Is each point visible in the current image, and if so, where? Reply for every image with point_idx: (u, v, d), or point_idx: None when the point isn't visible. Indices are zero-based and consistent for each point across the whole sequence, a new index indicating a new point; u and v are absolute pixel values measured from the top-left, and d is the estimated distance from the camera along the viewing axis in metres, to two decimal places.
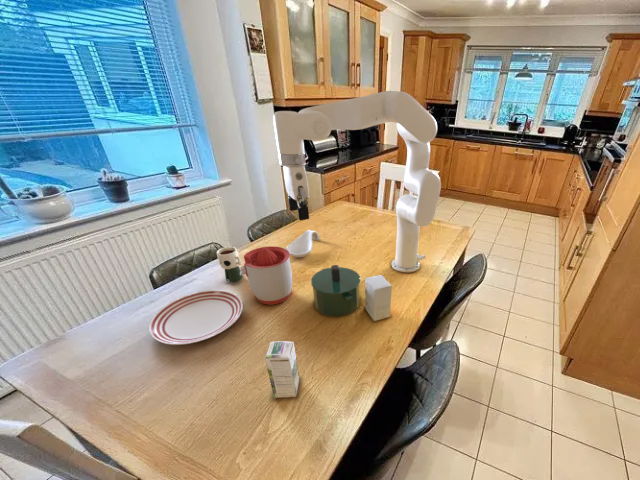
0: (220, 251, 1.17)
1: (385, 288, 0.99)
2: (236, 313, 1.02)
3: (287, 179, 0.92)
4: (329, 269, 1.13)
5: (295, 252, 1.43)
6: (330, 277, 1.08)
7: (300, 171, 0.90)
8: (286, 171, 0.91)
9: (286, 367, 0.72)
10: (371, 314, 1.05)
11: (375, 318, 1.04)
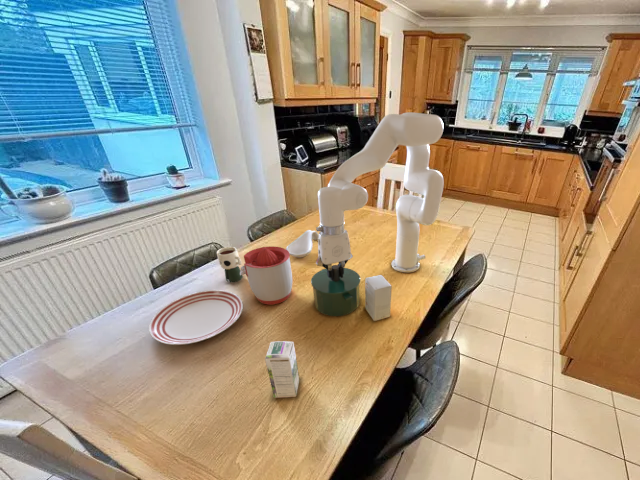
0: (220, 251, 1.17)
1: (385, 288, 0.99)
2: (236, 313, 1.02)
3: None
4: None
5: (295, 252, 1.43)
6: None
7: (320, 239, 0.96)
8: None
9: (286, 367, 0.72)
10: (371, 314, 1.05)
11: (375, 318, 1.04)
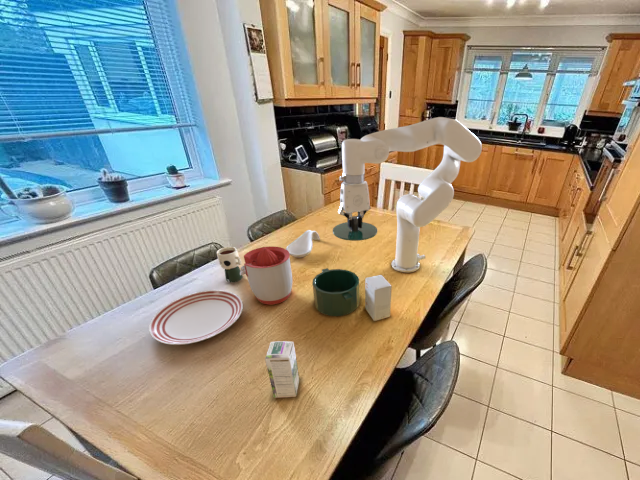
0: (220, 251, 1.17)
1: (385, 288, 0.99)
2: (236, 313, 1.02)
3: None
4: None
5: (295, 252, 1.43)
6: (349, 228, 1.18)
7: (343, 188, 1.06)
8: None
9: (286, 367, 0.72)
10: (371, 314, 1.05)
11: (375, 318, 1.04)
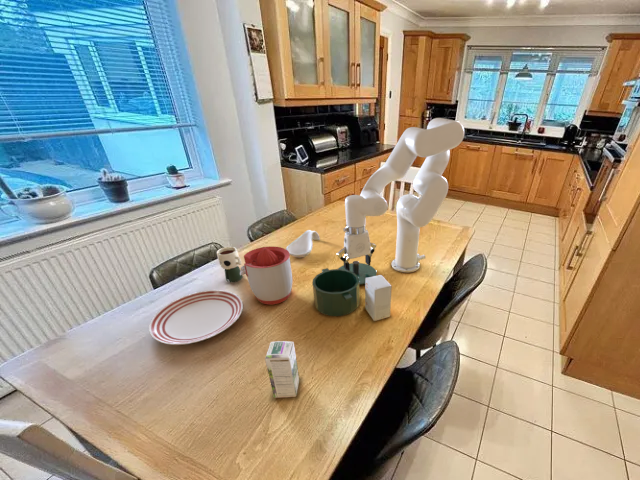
0: (220, 251, 1.17)
1: (385, 288, 0.99)
2: (236, 313, 1.02)
3: None
4: (349, 264, 1.34)
5: (295, 252, 1.43)
6: (351, 271, 1.30)
7: (346, 238, 1.17)
8: None
9: (286, 367, 0.72)
10: (371, 314, 1.05)
11: (375, 318, 1.04)
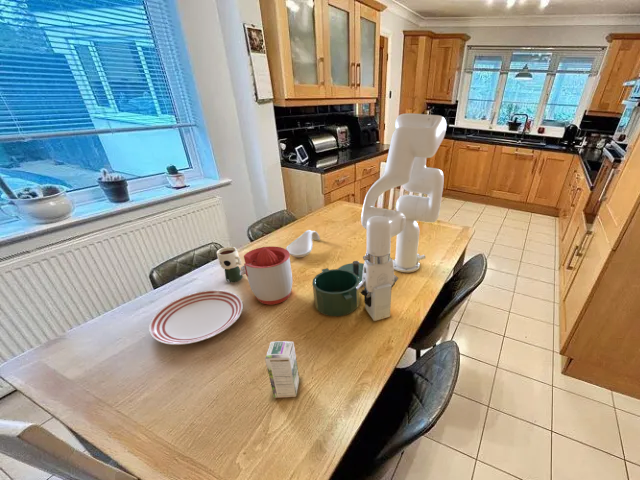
0: (220, 251, 1.17)
1: (385, 288, 0.99)
2: (236, 313, 1.02)
3: None
4: (349, 264, 1.34)
5: (295, 252, 1.43)
6: (351, 271, 1.30)
7: (366, 267, 0.96)
8: None
9: (286, 367, 0.72)
10: (371, 314, 1.05)
11: (375, 318, 1.04)
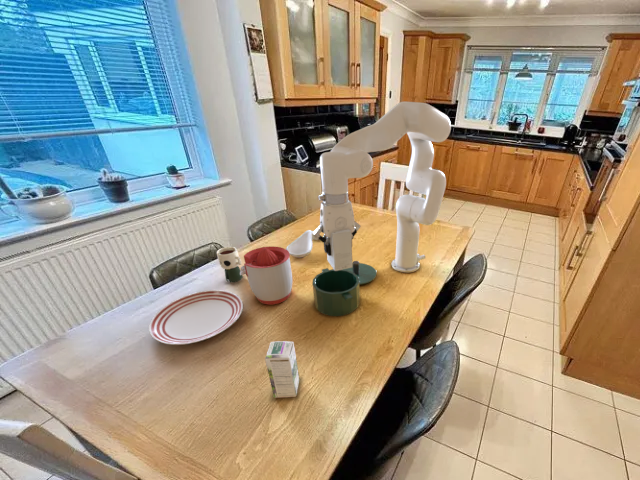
0: (220, 251, 1.17)
1: (345, 233, 0.94)
2: (236, 313, 1.02)
3: None
4: None
5: (295, 252, 1.43)
6: (351, 271, 1.30)
7: (323, 209, 0.90)
8: None
9: (286, 367, 0.72)
10: (332, 264, 1.00)
11: (336, 268, 0.98)
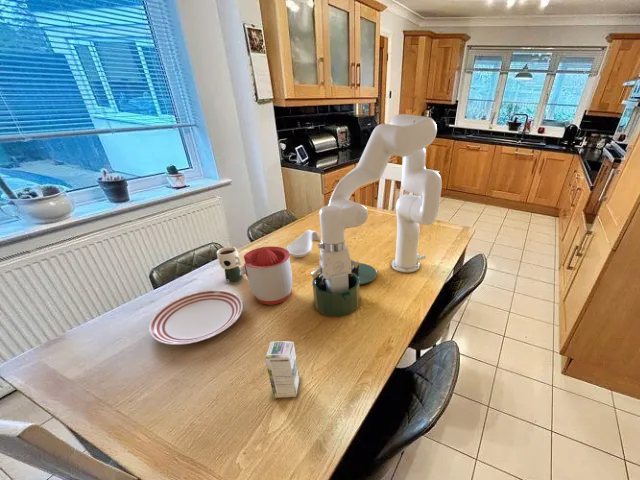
0: (220, 251, 1.17)
1: (342, 277, 1.03)
2: (236, 313, 1.02)
3: None
4: None
5: (295, 252, 1.43)
6: None
7: (322, 255, 0.99)
8: None
9: (286, 367, 0.72)
10: None
11: None
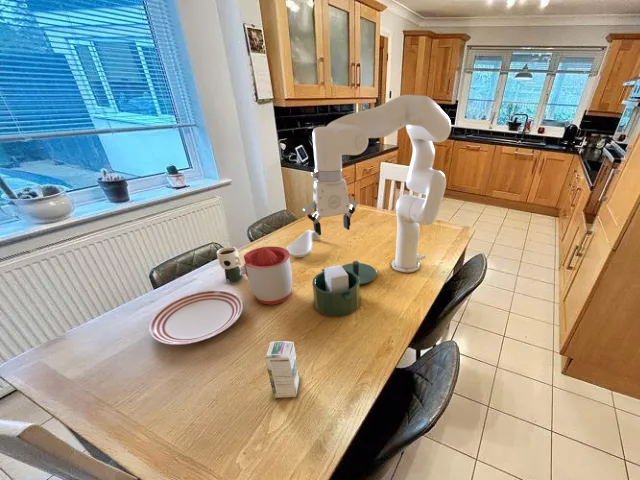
0: (220, 251, 1.17)
1: (342, 277, 1.03)
2: (236, 313, 1.02)
3: None
4: (349, 264, 1.34)
5: (295, 252, 1.43)
6: (351, 271, 1.30)
7: (316, 187, 0.87)
8: None
9: (286, 367, 0.72)
10: None
11: None
